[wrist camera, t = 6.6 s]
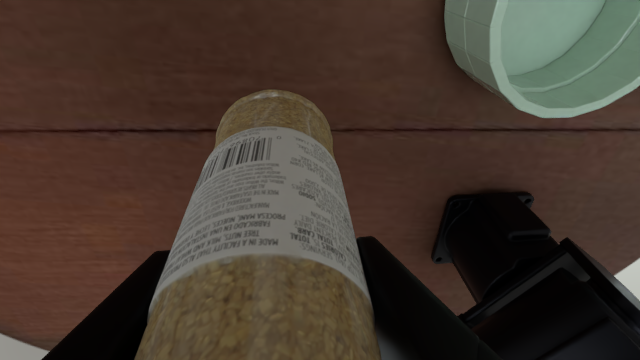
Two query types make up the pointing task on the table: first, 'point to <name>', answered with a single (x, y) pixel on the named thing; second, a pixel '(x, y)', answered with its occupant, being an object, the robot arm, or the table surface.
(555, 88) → the dish
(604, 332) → the robot arm
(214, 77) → the table surface
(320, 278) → the sprinkles bottle
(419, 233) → the table surface
